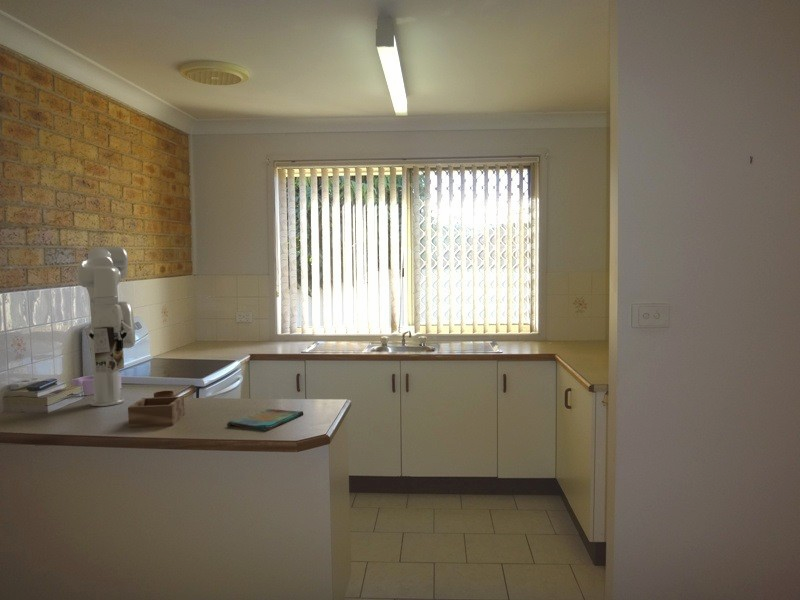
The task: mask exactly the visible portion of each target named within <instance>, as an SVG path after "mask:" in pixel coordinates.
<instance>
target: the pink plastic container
mask: <svg viewBox="0 0 800 600" xmlns="http://www.w3.org/2000/svg"><path fill="white" fill-rule="evenodd" d="M70 381H71V384H70V385H71V388H72V387H73V386H83V392H84V394H94V381H93V375H85V376H79V377H77V378H72V379H71V380H70ZM120 388H121V389H122V374H121V373H119V389H120ZM121 389H120V390H121Z"/></svg>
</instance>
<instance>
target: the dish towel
mask: <svg viewBox="0 0 800 600" xmlns="http://www.w3.org/2000/svg"><path fill="white" fill-rule="evenodd" d="M303 415H304V411H303V410H302V411H301V410H300V411H299V410H297V411H296V410H284V409H273V408H267V409H265V410H262V411H259V412H256V413H253V414H249V415H247V416H245V417H243V418H239V419H236V420H230V421H227V423H226V427H228V428H231V429H232V428H233V429H234V428H235V429H241V430H251V431H258V432H269V431H271V430H273V429H274V428H276V427H278V426H281V425H283V424H286V423H287V422H290V421H292V420H294V419H297V418H300V417H301V416H303Z"/></svg>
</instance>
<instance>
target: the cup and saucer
mask: <svg viewBox="0 0 800 600" xmlns="http://www.w3.org/2000/svg"><path fill="white" fill-rule="evenodd" d="M158 397H175V396H174V391H173V390H161V391H156V392H153V397H152V398H158Z"/></svg>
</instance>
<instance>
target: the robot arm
mask: <svg viewBox="0 0 800 600" xmlns="http://www.w3.org/2000/svg"><path fill="white" fill-rule="evenodd" d="M87 254H88V255H87V259H85V260H82V261H81V262H80V263H79V264H78V266H77V268H76V269H77V270H76V272H77V273H76V274H77V275H76V276H77V281H78V284H79V285H80V286H81V287H83V288H86V290H87V293H88V297H89V307H90V308H89V309H90V310H89V311H90V325H89V326H88V327H87V328H85V329H84V333H86V335H88V344H89V347H90V353H91V361H92V362H91V363H92V376H93V381H94V395H93V396H94V397H93V398H94V400H91V401H90V406H92V407H106V406H107V407H108V406H115V405H119V404H122V403H124V402H125V398H124V397H122V396H121V394H122V390H121V389H119V374H120V373H119V370H118V371H115V372H113V373H96V366H95V347H94V328H102V327H113V329H114V333H116V336H117V338H118V340H117V351H121V350H122V349H123V350H125V349H130V348H133V347H134V346H135V344H136V331H135V322H134V312H133V308H132V305H131V304H130V302H127V301H119V294H118V285H119V284H120V283H121V280H123V279H125V278H126V277H127V274H128V267H129V266H128V265H129V255H128V253H127V250H126V249H125V248H124V247H121V246H98V247H94V248H92V249H90V251H89V252H88V253H87ZM121 331H122V332H121Z"/></svg>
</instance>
